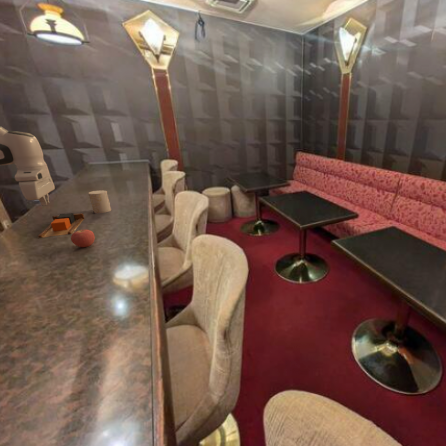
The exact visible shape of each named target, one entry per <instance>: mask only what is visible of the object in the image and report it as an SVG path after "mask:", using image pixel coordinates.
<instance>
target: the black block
mask: <svg viewBox="0 0 446 446" xmlns="http://www.w3.org/2000/svg"><path fill="white" fill-rule="evenodd" d="M74 214H75V213H73V212H69V213H68V212H67V213H60V214H59V215H57V216H58V217H57V219H64V218H69V221H70V224H72V223H73V222H74V221H75V218H74Z"/></svg>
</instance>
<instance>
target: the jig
mask: <svg viewBox="0 0 446 446" xmlns="http://www.w3.org/2000/svg"><path fill="white" fill-rule="evenodd" d="M73 214H74V218H75V221H74V222H73V223H72V224H71V226H70V227H69V228H68V229H67V230H60V231H53V229H52V226H51V223H50V224H49V225H48V226H47V227H46V228H45V229H44V230H43V231H42V232H41V233H39V234H38V235H37V239H41V238H49V237H50V238H51V237H58V236H67V235H72V234H73V233H74V232H76V230H77V229H78V227H79V226H80V225H81V224H82V223H83V221H84V220H85V216H84V212H83V213H73ZM58 216H59V215H53V216H52V220H53V221H54V220H55V219H57V217H58Z"/></svg>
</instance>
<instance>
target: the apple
mask: <svg viewBox="0 0 446 446" xmlns="http://www.w3.org/2000/svg"><path fill="white" fill-rule="evenodd" d="M95 240H96V239H95V233H94V232H93V231H92V230H90V229H79V230H77V231H76V230H75V231H74V232H73V234H71V236H70V241H71V242H72V244H74V245H75V246H76V247H78V248H88V247H90V246H92V245H93V244H94V242H95Z"/></svg>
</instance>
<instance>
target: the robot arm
mask: <svg viewBox="0 0 446 446" xmlns="http://www.w3.org/2000/svg"><path fill="white" fill-rule="evenodd" d="M7 165H8V166H10V165H15V167H16V172H15V175H14V180H15V182H18V186H19V190H20V191H21V193H22V195H23V197H24V198H25V199H26V200H27V201H35V200H37V201H39V203H40V205H41V206H43V207H44V206H48V205H49V204H50V200H49V193H51V192H53V191H54V190H55V188H56V187H55V183H54V182H53V177H52V176H51V173H50V170H49V168H48V164H47V163H46V160H45V159H44V152H43V149H42V147H41V144H40V143H39V140H38V139H37V137H36V136H35V135H34V134H32V133H30V132H26V131H17V130H16V131H15V130H7V129H5V128H4V127H2V126H1V125H0V166H7Z"/></svg>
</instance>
